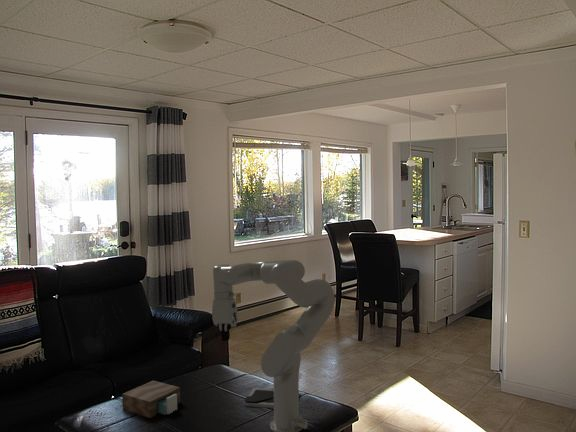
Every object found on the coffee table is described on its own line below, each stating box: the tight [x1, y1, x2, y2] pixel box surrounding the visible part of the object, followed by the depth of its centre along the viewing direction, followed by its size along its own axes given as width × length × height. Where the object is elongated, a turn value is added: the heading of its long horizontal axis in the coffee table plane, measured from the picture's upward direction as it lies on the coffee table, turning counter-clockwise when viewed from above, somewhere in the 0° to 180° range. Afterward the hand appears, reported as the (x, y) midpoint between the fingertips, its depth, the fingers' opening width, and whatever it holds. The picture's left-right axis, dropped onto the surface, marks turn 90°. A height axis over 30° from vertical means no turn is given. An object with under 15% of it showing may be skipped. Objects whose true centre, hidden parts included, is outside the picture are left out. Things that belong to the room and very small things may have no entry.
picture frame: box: [243, 387, 274, 409], centre depth 210 cm, size 16×3×21 cm
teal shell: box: [156, 394, 178, 416], centre depth 203 cm, size 15×7×6 cm, turn 59°
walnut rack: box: [121, 380, 181, 419], centre depth 205 cm, size 16×17×6 cm
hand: (225, 340), depth 199 cm, fingers closed
